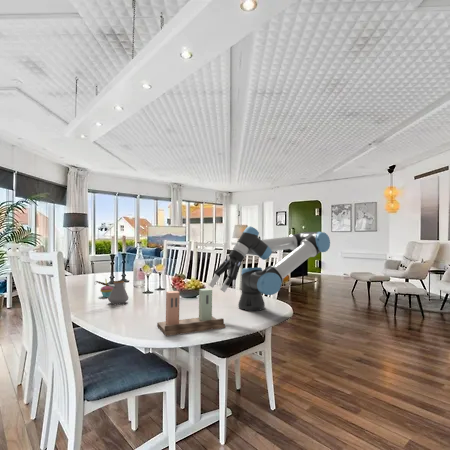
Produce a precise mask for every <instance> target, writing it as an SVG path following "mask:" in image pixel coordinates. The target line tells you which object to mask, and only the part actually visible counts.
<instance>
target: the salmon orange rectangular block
mask: <svg viewBox="0 0 450 450" xmlns="http://www.w3.org/2000/svg"><path fill="white" fill-rule="evenodd" d="M165 292H166V293H165V294H166V295H165V322H166V324H167V325H174V324H179V320H180V299H181V298H180V296H181V295H180V293H181V292H180V291H178V290H169V291H165Z"/></svg>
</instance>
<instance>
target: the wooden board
mask: <svg viewBox="0 0 450 450" xmlns="http://www.w3.org/2000/svg"><path fill="white" fill-rule="evenodd" d="M224 321H225V319H224V318H215V317H214V316H212V320H206V321H201V320H200V319H199V317H192V318H184V319H183V318H182V319H179V324H174V325H167V324H166V321H160V322H159V321H158V322H156V323H157V326H156V327H158V328H159V330H160V331H161V332H162V333H163V334H164V335H165V336H166V337H167V336H175V335H182V334H190V333H197V332H203V331H211V330H218V329H224V328H226V323H224Z"/></svg>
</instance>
